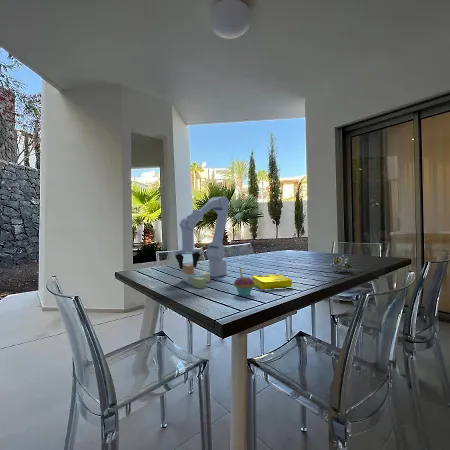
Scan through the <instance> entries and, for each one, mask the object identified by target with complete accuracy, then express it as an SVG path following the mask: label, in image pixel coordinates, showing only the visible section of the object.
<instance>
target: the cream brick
mask: <svg viewBox="0 0 450 450" xmlns="http://www.w3.org/2000/svg"><path fill="white" fill-rule="evenodd" d="M202 278H205V279H206V283H210V282H211V276H210V272H209V271H203V272H202Z"/></svg>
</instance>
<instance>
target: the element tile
mask: <svg viewBox="0 0 450 450" xmlns="http://www.w3.org/2000/svg"><path fill="white" fill-rule="evenodd" d="M251 279H252V280H253V281H254V284H255V286H254V287H256V286H257V287H259V288H260V289H259V288H258V289H259V290H261V289H274V288H283V287H291V286H292V287H293V280H292V279H291V278H290V277H287V276H284V275H281V274H280V273H276V274H275V273H274V274H272V273H271V274H257V275H252V278H251ZM257 287H256V288H257Z"/></svg>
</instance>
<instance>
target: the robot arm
mask: <svg viewBox="0 0 450 450" xmlns="http://www.w3.org/2000/svg"><path fill="white" fill-rule="evenodd" d="M229 205H230V202H229V199H228V197H226V196H213V197H210V198H209V199H208V201H207V202H206V203H205V204H204V205H203V206H202V207H201V208H200V209H194V210H192V212H191V213H190V214H188V215H187V216H186V218H182V219H181V220H180V223H179V228H180V229H181V231H180V232H181V234H182V235H181V247H182V248H181V250H174V251H173V255H174V256H175V259H176V260H177V264H178V267H179V269H180V270H183V265H184V263H183V262H184V255H191V258H192V265H193V266H194V269H195V268H197V265H198V261H199V259H200V257H201V254H202V249H194V229H195V228H196V226H197V224H198V223H199V222H200V221H201V220H202V219H203V218H204V215H205V214H207V213H209V211H211V210H213V211H214V212H215V213H216V214H217V217H216V218H217V219H216V223H215V227H214V231H213V232H214V233H213V237H212V241H210V243H208V246H207V248H206V251H205V255H206V257H207V260H208V272H210V277H213V278H215V277H216V278H217V277H222V276H228V274H227V272H228V271H227V261H226V260H225V259H224V257H225V255H226V251H225V248H226V247H225V245H224V244H223V239H224V234H225V231H226V230H225V229H226V225H227V221H228V216H229Z"/></svg>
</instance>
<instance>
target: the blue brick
mask: <svg viewBox="0 0 450 450" xmlns="http://www.w3.org/2000/svg"><path fill="white" fill-rule="evenodd" d="M195 277H201V278H203V274H194V275H192V276H188V282H187V283H188V285H190V286H192V278H195Z"/></svg>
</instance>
